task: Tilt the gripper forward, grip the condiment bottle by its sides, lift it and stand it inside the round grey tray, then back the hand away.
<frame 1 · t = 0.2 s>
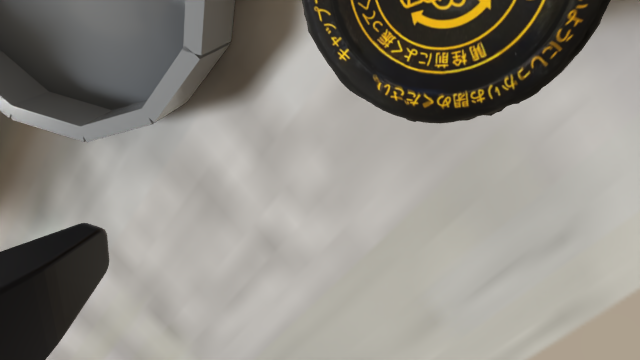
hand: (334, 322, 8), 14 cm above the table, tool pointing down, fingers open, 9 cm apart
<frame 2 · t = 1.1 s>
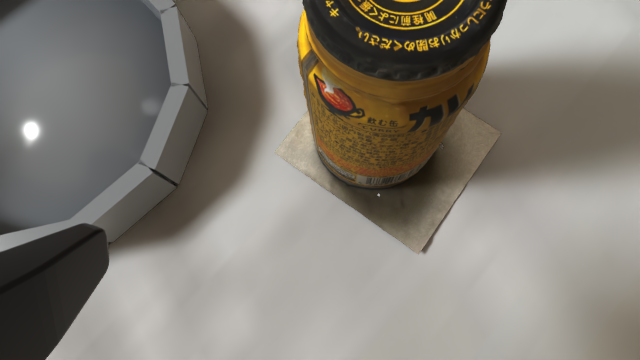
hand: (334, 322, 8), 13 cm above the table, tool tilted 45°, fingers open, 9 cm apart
condiment: (386, 145, 23), on the table
round grey tray: (56, 106, 24), on the table
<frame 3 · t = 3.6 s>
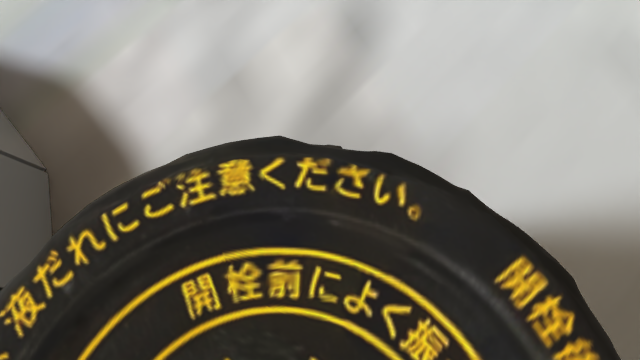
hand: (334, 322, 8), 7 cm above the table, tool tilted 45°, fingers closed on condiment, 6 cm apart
condiment: (347, 359, 14), on the table, touching gripper
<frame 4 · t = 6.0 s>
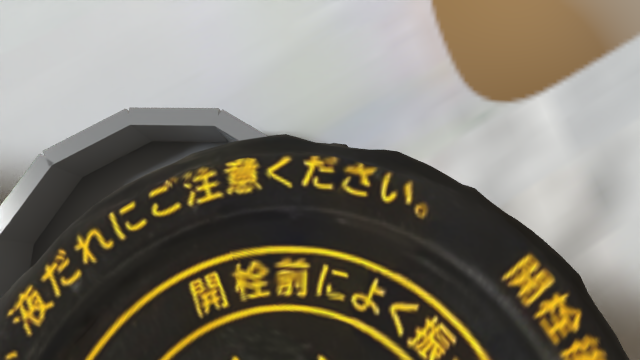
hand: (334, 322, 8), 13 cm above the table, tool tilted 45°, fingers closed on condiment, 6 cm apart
condiment: (349, 357, 14), point 6 cm above the table, touching gripper
round grey tray: (180, 289, 22), on the table
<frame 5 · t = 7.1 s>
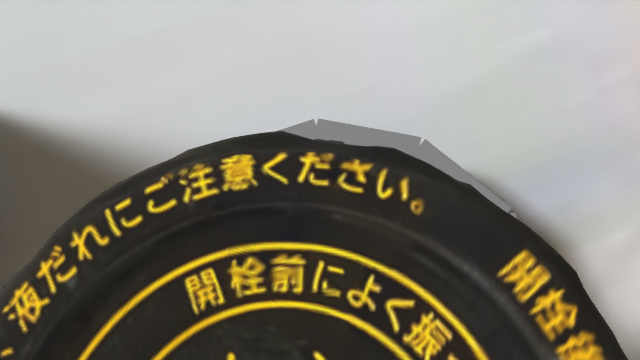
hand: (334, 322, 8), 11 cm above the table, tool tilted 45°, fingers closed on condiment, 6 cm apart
condiment: (348, 356, 14), point 5 cm above the table, touching gripper
round grey tray: (330, 328, 19), on the table
when the fingers open (8 cm above the table, at t = 8.2 s): condiment drops 1 cm, resting on round grey tray.
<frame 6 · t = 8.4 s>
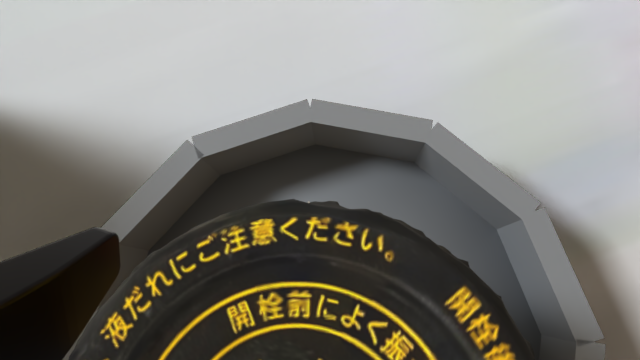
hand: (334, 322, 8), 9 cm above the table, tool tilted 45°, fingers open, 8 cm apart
condiment: (347, 357, 16), resting on round grey tray
round grey tray: (327, 344, 16), on the table
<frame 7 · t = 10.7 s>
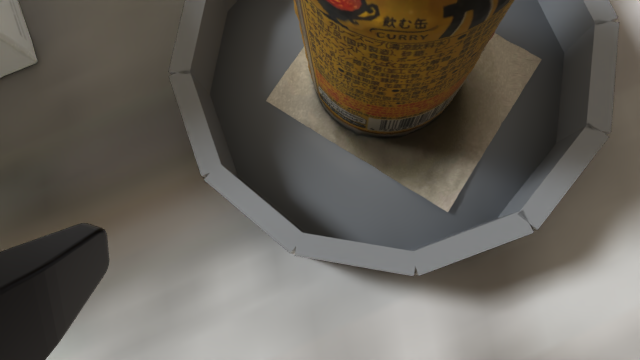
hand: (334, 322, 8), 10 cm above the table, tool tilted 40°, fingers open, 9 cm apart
condiment: (400, 84, 19), resting on round grey tray
round grey tray: (382, 79, 19), on the table
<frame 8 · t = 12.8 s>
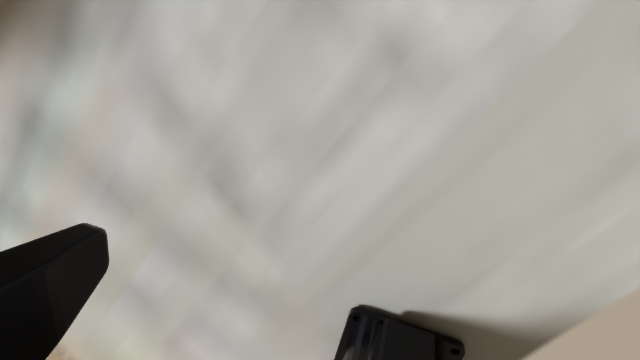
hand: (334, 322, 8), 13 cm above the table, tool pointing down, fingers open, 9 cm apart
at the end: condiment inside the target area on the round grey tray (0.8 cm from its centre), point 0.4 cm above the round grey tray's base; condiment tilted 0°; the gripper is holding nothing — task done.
